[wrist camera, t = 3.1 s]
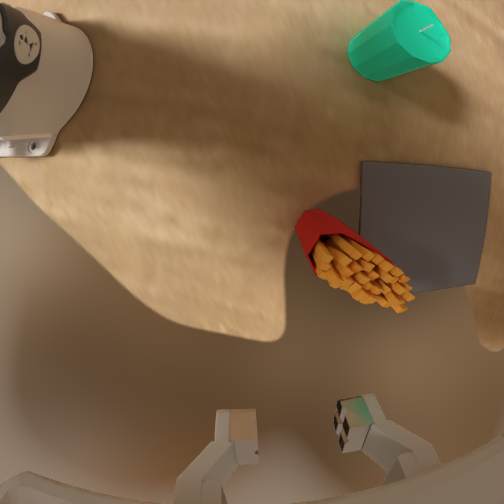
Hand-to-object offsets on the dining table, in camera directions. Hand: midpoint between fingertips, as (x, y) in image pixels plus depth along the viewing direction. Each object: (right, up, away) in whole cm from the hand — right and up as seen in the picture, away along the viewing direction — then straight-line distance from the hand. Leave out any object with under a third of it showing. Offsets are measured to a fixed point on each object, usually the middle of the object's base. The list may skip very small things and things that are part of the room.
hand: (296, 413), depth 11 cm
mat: (+20, +9, +22) cm, 31 cm away
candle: (+11, +27, +15) cm, 33 cm away
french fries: (+6, +8, +22) cm, 24 cm away
